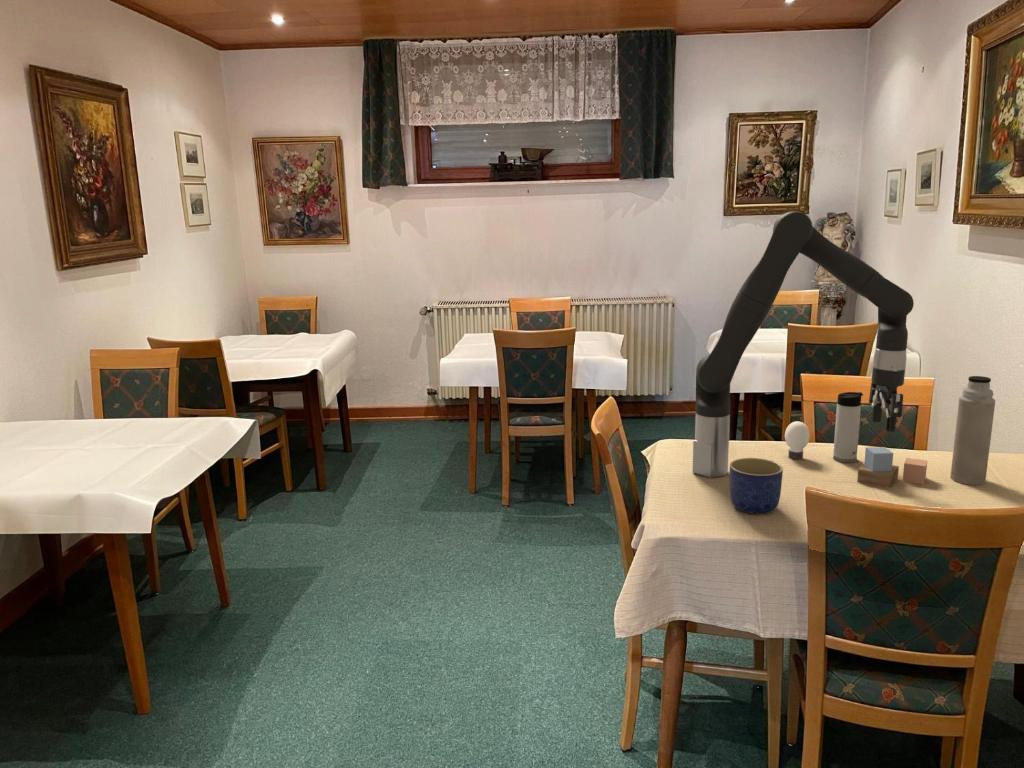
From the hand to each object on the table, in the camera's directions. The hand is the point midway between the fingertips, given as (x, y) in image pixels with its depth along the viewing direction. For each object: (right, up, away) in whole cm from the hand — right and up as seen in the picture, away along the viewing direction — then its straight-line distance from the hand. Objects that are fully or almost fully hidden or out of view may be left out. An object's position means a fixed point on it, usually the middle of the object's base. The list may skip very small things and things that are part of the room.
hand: (882, 426), depth 193 cm
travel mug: (0, -11, +21) cm, 24 cm away
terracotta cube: (+11, -15, +4) cm, 19 cm away
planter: (-37, -20, -10) cm, 43 cm away
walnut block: (+1, -15, +4) cm, 16 cm away
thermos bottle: (+24, -15, +3) cm, 28 cm away
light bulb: (-14, -11, +24) cm, 30 cm away
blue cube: (0, -11, +3) cm, 12 cm away
